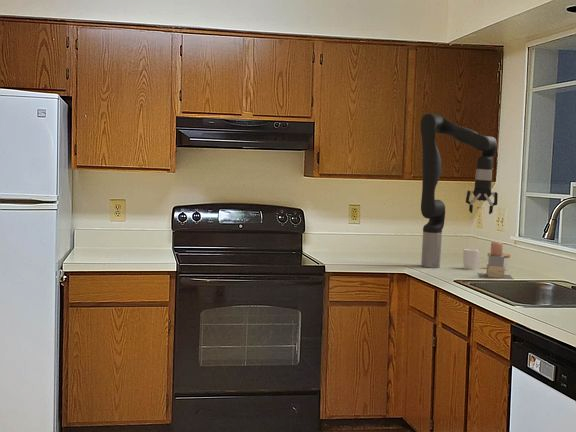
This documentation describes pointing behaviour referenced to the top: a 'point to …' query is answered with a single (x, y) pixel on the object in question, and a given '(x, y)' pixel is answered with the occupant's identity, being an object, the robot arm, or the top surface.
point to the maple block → (495, 271)
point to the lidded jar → (506, 259)
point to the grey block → (496, 260)
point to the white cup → (471, 259)
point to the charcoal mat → (483, 275)
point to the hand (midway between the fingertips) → (480, 213)
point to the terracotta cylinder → (496, 248)
